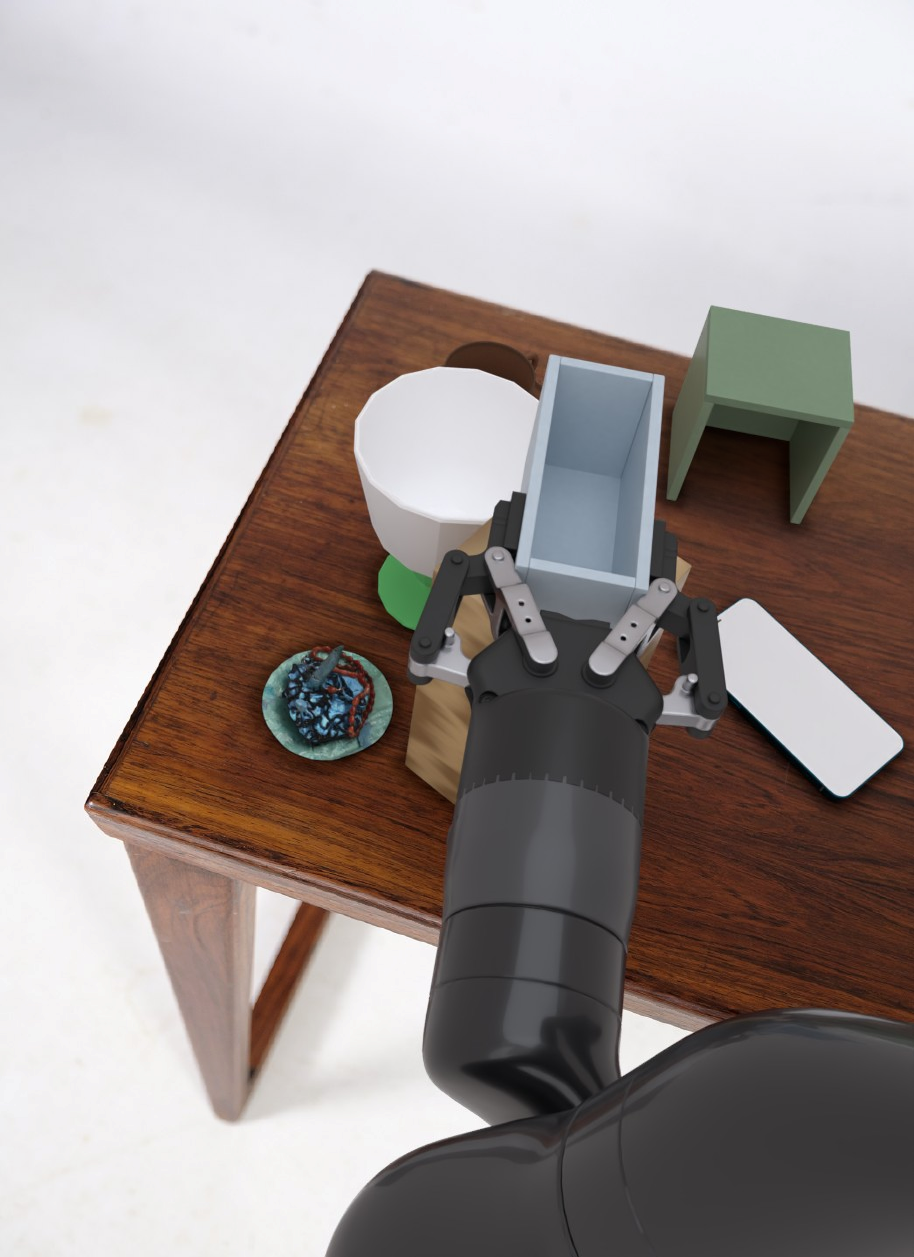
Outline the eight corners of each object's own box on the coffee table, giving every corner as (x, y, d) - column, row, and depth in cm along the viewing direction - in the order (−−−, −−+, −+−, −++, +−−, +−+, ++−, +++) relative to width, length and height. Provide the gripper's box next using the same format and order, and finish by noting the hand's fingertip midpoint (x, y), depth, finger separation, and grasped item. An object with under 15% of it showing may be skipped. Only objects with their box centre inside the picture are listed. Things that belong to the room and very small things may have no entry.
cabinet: (799, 524, 97) (854, 422, 87) (666, 499, 97) (706, 394, 87) (798, 436, 103) (850, 331, 93) (672, 412, 103) (710, 304, 93)
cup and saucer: (445, 358, 103) (453, 302, 98) (573, 409, 101) (587, 355, 96) (383, 446, 97) (387, 391, 92) (518, 503, 95) (530, 450, 90)
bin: (610, 685, 59) (648, 590, 53) (491, 663, 59) (515, 565, 53) (629, 480, 68) (665, 375, 61) (525, 460, 68) (549, 353, 61)
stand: (607, 758, 83) (692, 565, 65) (520, 858, 78) (585, 679, 60) (495, 673, 86) (547, 467, 68) (404, 765, 81) (433, 568, 63)
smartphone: (905, 749, 86) (744, 599, 92) (911, 743, 85) (748, 592, 91) (835, 809, 82) (673, 650, 88) (840, 804, 81) (676, 643, 87)
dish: (239, 662, 81) (332, 633, 78) (295, 655, 87) (383, 628, 84) (268, 777, 80) (363, 753, 77) (322, 761, 87) (412, 738, 84)
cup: (539, 535, 93) (577, 388, 80) (514, 681, 85) (551, 543, 72) (368, 500, 93) (378, 347, 80) (326, 642, 86) (330, 498, 73)
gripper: (754, 826, 44) (757, 492, 54) (372, 753, 44) (444, 432, 54) (698, 903, 50) (711, 590, 60) (363, 839, 50) (429, 537, 60)
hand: (584, 517), depth 57 cm, fingers closed on bin, 6 cm apart
